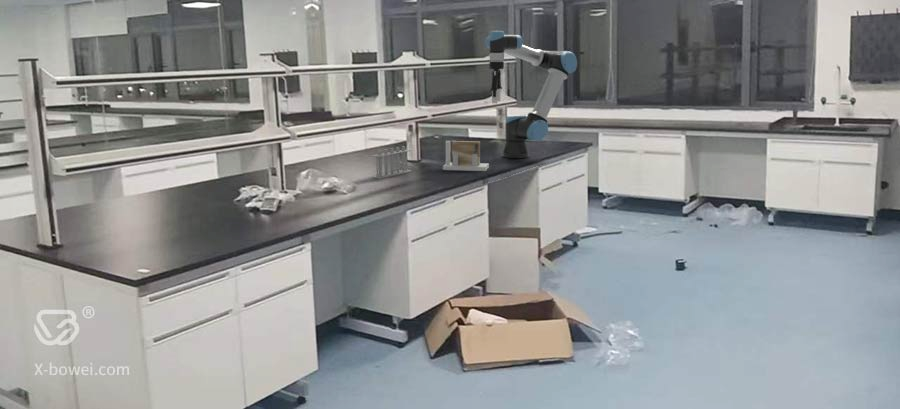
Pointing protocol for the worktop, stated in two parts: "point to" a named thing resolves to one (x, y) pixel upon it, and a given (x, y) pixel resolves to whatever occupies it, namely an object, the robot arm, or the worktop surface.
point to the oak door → (465, 151)
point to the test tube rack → (391, 162)
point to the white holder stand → (463, 167)
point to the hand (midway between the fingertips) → (496, 102)
